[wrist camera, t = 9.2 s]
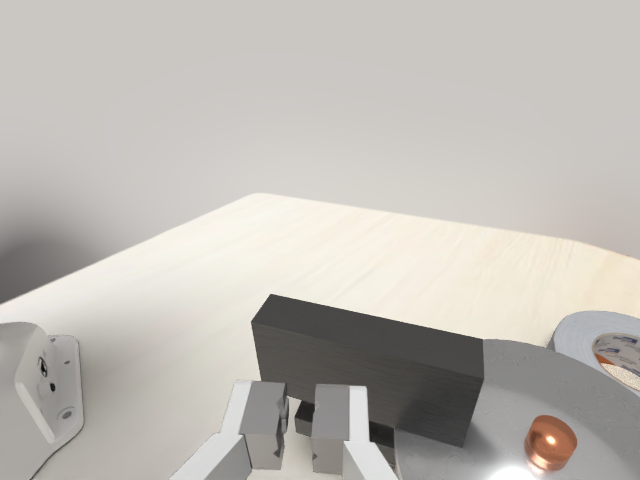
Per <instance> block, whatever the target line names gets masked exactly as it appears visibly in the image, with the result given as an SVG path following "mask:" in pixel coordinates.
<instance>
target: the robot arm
mask: <svg viewBox="0 0 640 480" xmlns="http://www.w3.org/2000/svg"><path fill="white" fill-rule="evenodd" d="M286 396H287V383H280V382H264V381H250V380H237V381H236V383H235V384H234V386H233V390H232V393H231V396H230V400H229V403H228V406H227V409H226V413H225V416H224V419H223V422H222V426H221V429H220V432H219V433H214V434H213V435H212V436H211V437H210V438H209V439H208V440H207V441H206V442H205V443H204V444H203V445H202V446H201V447H200V448H199V449H198V450H197V451H196V452H195V453H194V454H193V455H192V456H191V457H190V458H189V459H188V460H187V461H186V462H185V463H184V464H183V465H182V466H181V467H180V468H179V469H178V470H177V471H176V473H175V474H174V475H173V476H172V477H171V478H170V479H169V480H246V479H247V477H248V476H249V475H250V473H251V472H252V469H263V470H281V466H282V460H283V453H284V447H285V446H284V437H283V435H284V434H285V433H286V431H287V426H288V416H289V399H288V398H287V397H286ZM69 416H70V417H69ZM67 417H68V418H67ZM83 424H84V416H83V402H82V388H81V374H80V359H79V346H78V341H77V340H76V339H75V337H73V336H68V335H49V336H47V335H46V333H45V332H44V330H43V329H42V328H41V327H40V326H38V325H36V324H33V323H29V322H11V323H2V324H0V480H30V479H31V478H32V476H33V475H34V474H35V473H36V472H37V470H38V469H39V468H40V467H41V466H42V464H43V463H44V462H45V461H46V460H47V459H48V458H49V457H50V456H51V455H52V454H53V453H54V452H55V451H56V450H58V449H59V448H60V447H62V446H63V445H64V444H65V443H67V442H68V441H69V440H70V439H72V438H73V437H74V436H75V435H76V434H77V433H78V432H79V431H80V430H81V428H82V427H83ZM311 440H312V452H313V459H312V462H313V472H316V473H326V474H337V475H342V477H343V479H344V480H398V478H397V476H396V475H395V473H394V472H393V470H392V469H391V467H390V466H389V464H388V462H387V461H386V459H385V458H384V456H383V455H382V453H381V452H380V450H379V448H378V447H377V445H376V444H375V443H374V442H370V440H369V419H368V399H367V388H366V386H349V385H335V384H316V390H315V412H314V413H313V424H312V436H311Z"/></svg>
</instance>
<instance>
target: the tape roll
mask: <svg viewBox="0 0 640 480" xmlns="http://www.w3.org/2000/svg"><path fill="white" fill-rule="evenodd" d="M547 349H550V350H553V351H556V352H559V353H561V354H564V355H566V356H569V357H571V358H574V359H576V360H578V361H580V362H582V363H584V364H586V365H589V366H591V367H593V368H595V369H597V370H598V371H600V372H602V373H603V374H605V375H607V376H609V377H610V378H612V379H614V380H615V381H617V382H618V383H620V384H621V385H623V386H624V387H626V388H627V389H629V390H630V391H632V392H633V393H635V394H636V395H637V396H639V397H640V391H639V390H637V389H634V388H632V387H630V386H628V385H626V384H625V383H623V382H621V381H620V380H618V379H617V378H615V377H614V376H613V375H611V374H610V373H609V372H608V371H607V370H605V369H604V367H603V366H602V365H601V364H600V363H606V364H611V365H615V366H618V367H621V368H624V369H626V370H628V371H630V372H632V373H634V374H636V375H638V376H639V377H640V319H639V318H635V317H632V316H628V315H624V314H619V313H614V312H607V311H583V312H577V313H574V314H571V315H568V316H566V317H565V318H564V319H563V320H562V321H561V322H560V323H559V325H558V326H557V328H556V330H555V331H554V333H553V335H552V338H551V340H550V342H549V344H548V346H547Z"/></svg>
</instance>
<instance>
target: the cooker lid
mask: <svg viewBox="0 0 640 480" xmlns="http://www.w3.org/2000/svg"><path fill="white" fill-rule="evenodd" d="M251 325H252V330H253V336H254V342H255V347H256V353H257V359H258V364H259V370H260V375H261V381H264V382H280V383H287V396H290V397H293V398H296V399H300V400H303V401H306V402H310V403H313V404H315V390H316V384H335V385H349V386H366V388H367V399H368V419H369V421H373V422H376V423H379V424H383V425H386V426H389V427H392V428H394V434H393V435H394V455H395V461H396V468H397V473H398V476H399V480H640V397H639V396H637V395H636V394H635V393H633V392H632V391H630V390H629V389H627V388H626V387H624V386H623V385H621V384H620V383H618V382H617V381H615V380H614V379H612V378H610V377H609V376H607V375H605V374H603V373H602V372H600V371H598V370H597V369H595V368H593V367H591V366H589V365H586V364H584V363H582V362H580V361H578V360H576V359H574V358H571V357H569V356H566V355H564V354H561V353H559V352H556V351H553V350H550V349H547V348H544V347H540V346H536V345H532V344H528V343H522V342H516V341H510V340H498V339H484V340H483V339H479V338H475V337H470V336H465V335H461V334H456V333H451V332H447V331H442V330H437V329H432V328H428V327H423V326H418V325H414V324H409V323H404V322H400V321H395V320H390V319H386V318H381V317H376V316H372V315H367V314H362V313H358V312H353V311H348V310H344V309H339V308H334V307H330V306H325V305H320V304H316V303H311V302H306V301H302V300H297V299H292V298H288V297H283V296H278V295H274V294H270V296H269V297H268V298H267V300H266V301H265V303H264V304H263V305H262V307H261V308H260V310H259V311H258V313H257V314H256V315H255V317H254V318H253V320H252V321H251Z"/></svg>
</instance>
